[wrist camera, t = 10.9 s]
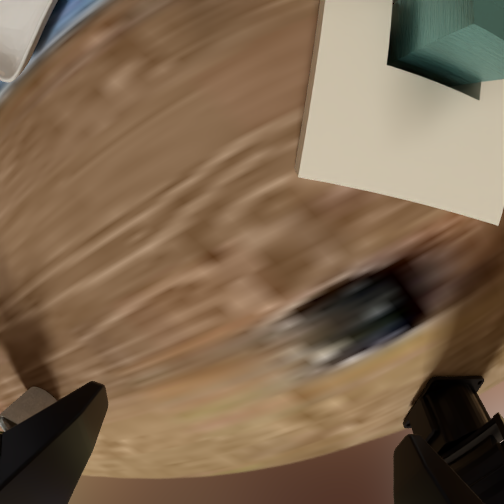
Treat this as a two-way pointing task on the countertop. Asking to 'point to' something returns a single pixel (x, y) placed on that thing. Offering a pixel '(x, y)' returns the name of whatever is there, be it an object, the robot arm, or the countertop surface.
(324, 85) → the beige square hole board
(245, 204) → the countertop surface
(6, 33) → the salad plate
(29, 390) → the house plant
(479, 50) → the teal rectangular block
